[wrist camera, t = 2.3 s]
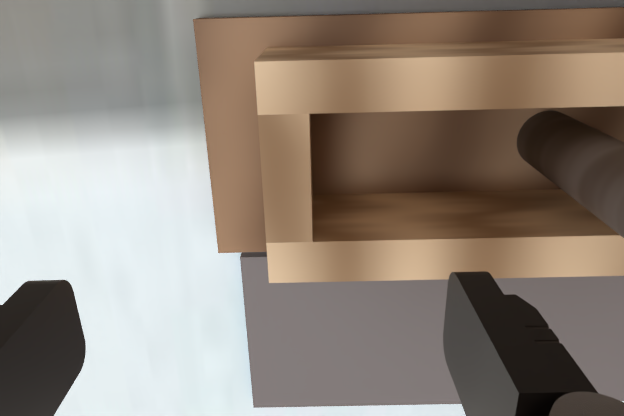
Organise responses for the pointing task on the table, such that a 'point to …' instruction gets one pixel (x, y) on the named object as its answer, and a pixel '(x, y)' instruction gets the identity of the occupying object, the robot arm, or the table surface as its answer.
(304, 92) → the open wooden box
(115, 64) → the table surface
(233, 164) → the walnut post stand
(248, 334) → the grey rubber mat
